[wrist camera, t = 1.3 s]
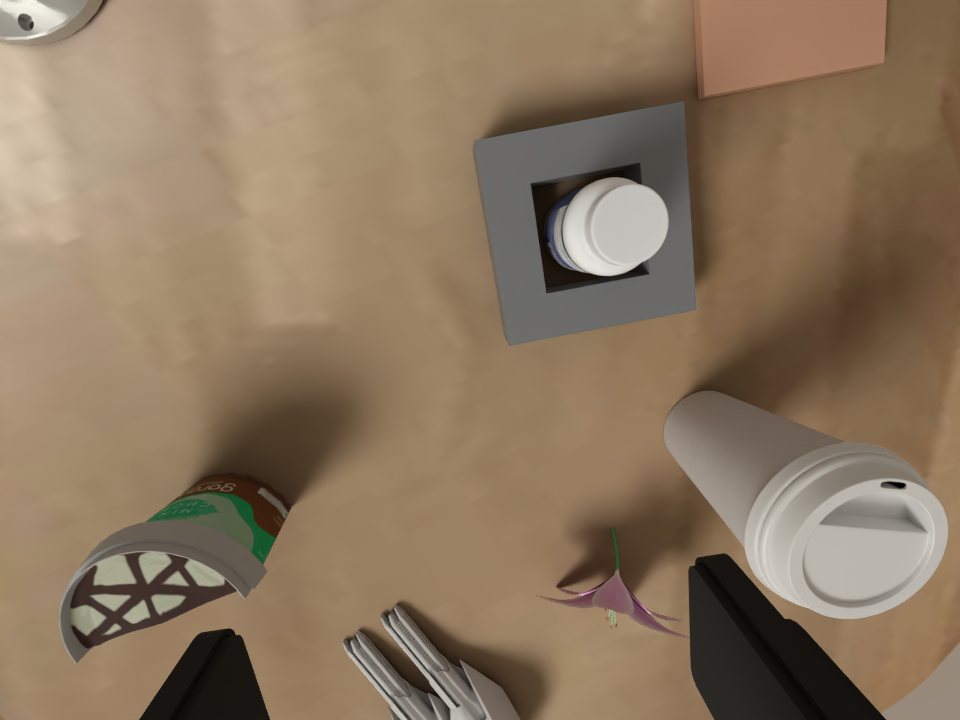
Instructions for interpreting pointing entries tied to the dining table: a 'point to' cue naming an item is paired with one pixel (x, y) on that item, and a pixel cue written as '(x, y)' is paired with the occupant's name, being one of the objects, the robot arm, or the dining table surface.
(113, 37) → the dining table surface
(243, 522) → the food container
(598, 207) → the pill bottle
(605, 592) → the lily
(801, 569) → the coffee cup
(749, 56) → the terracotta tile
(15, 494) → the dining table surface
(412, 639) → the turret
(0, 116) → the dining table surface
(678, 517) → the dining table surface
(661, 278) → the bottle holder
